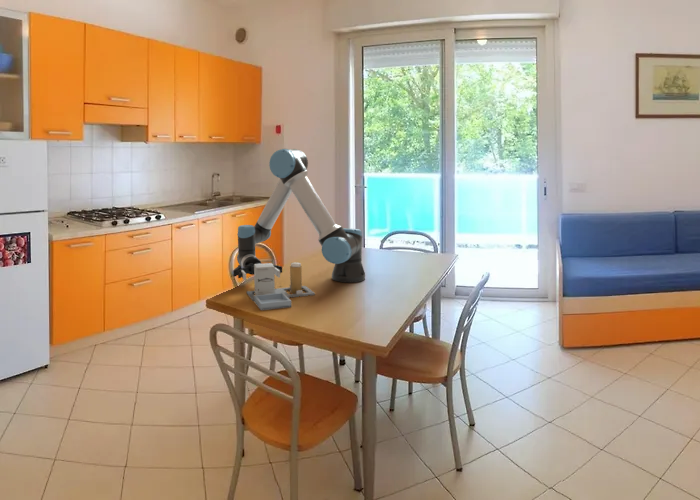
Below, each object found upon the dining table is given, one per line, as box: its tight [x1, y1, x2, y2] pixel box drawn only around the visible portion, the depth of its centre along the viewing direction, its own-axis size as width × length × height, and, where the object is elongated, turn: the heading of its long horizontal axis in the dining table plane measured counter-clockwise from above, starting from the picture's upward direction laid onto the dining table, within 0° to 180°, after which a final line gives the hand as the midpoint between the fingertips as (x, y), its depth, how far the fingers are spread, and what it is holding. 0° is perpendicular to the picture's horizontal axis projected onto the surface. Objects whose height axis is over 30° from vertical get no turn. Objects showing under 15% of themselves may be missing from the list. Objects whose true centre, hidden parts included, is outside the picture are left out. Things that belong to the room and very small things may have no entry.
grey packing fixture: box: [246, 285, 316, 302], centre depth 208 cm, size 25×12×2 cm, turn 112°
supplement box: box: [253, 262, 276, 295], centre depth 204 cm, size 7×7×13 cm
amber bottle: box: [289, 262, 303, 294], centre depth 209 cm, size 5×5×12 cm
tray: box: [253, 293, 292, 311], centre depth 194 cm, size 11×11×2 cm
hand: (262, 275), depth 204 cm, fingers open, 13 cm apart
